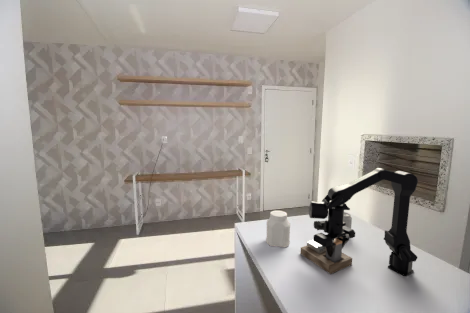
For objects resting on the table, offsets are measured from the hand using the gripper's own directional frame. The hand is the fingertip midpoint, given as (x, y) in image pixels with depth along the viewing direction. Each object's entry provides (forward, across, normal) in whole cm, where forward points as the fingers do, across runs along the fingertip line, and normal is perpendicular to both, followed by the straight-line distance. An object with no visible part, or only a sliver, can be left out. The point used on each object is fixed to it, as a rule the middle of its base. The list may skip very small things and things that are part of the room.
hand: (333, 255), depth 90 cm
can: (+4, -27, -15) cm, 31 cm away
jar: (+4, +9, -25) cm, 27 cm away
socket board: (+4, 0, -4) cm, 6 cm away
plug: (+2, 0, 0) cm, 2 cm away
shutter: (+1, 0, -8) cm, 8 cm away
